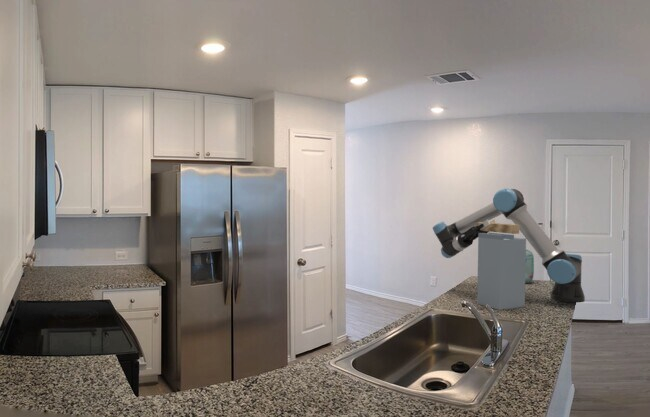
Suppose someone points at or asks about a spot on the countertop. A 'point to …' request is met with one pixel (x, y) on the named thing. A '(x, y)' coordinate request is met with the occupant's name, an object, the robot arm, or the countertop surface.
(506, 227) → the oak block
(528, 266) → the lunch box
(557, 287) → the robot arm
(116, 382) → the countertop surface
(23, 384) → the countertop surface
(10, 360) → the countertop surface
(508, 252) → the stand
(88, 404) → the countertop surface
